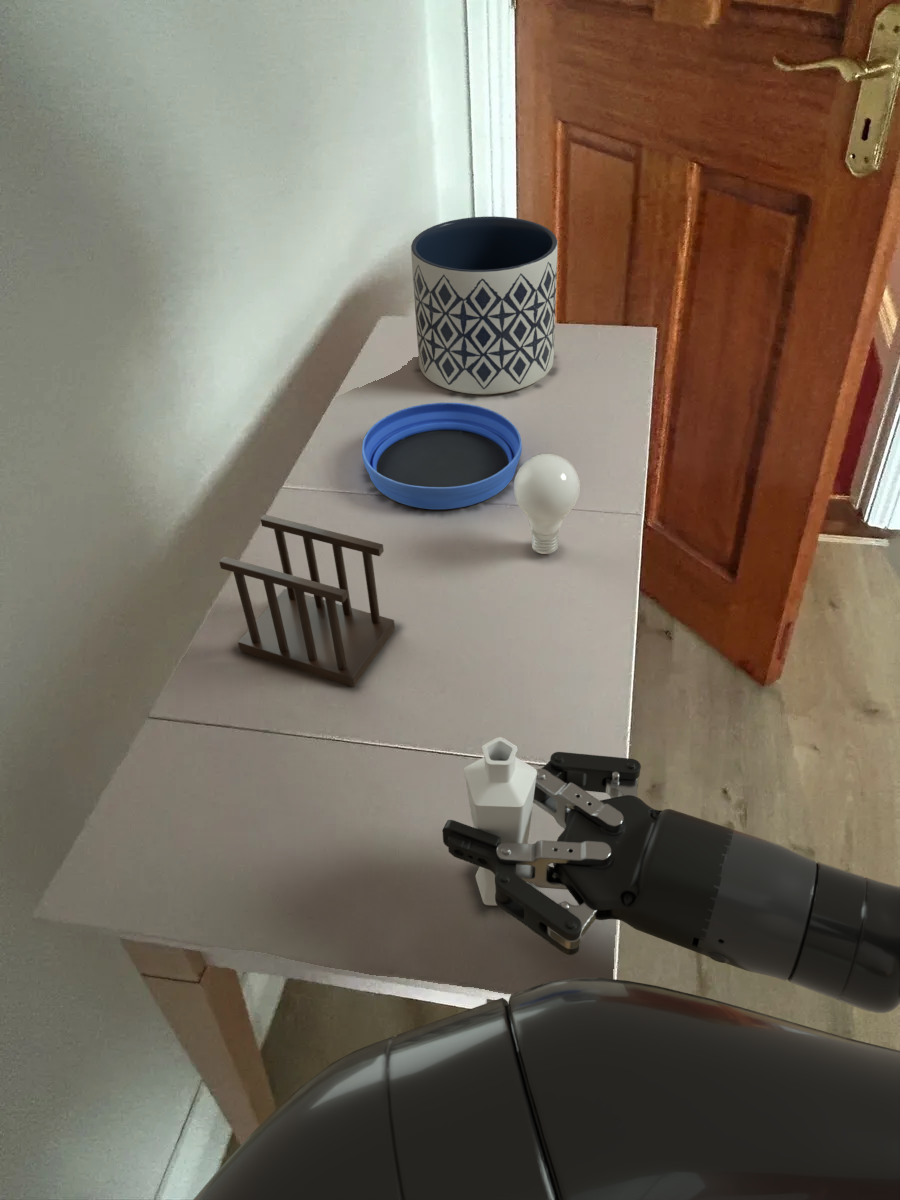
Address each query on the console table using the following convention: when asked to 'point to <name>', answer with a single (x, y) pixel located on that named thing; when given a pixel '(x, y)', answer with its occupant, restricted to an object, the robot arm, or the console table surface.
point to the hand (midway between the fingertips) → (462, 801)
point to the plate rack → (313, 609)
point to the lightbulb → (546, 497)
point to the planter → (485, 303)
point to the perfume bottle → (500, 801)
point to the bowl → (442, 455)
